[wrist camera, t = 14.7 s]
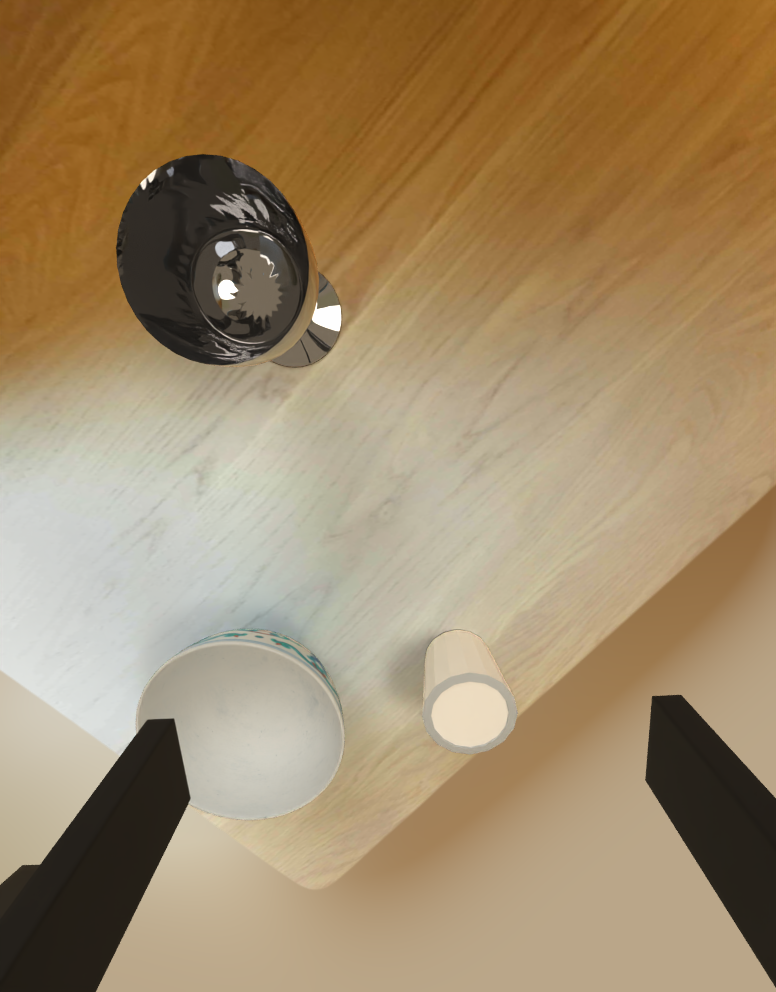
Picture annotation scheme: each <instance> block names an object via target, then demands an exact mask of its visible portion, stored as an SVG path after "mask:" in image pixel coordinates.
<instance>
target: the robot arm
mask: <svg viewBox="0 0 776 992" xmlns="http://www.w3.org/2000/svg"><path fill="white" fill-rule="evenodd" d="M645 780H646V782H647V784H648V785H649V787H650V788H651V790H652V792H653V793H654V795H655V796H656V798H657V799H658V801H659V803H660V804H661V806H662V807H663V809H664V810H665V812H666V814H667V815H668V817H669V819H670V820H671V822H672V823H673V825H674V826H675V828H676V830H677V831H678V833H679V834H680V836H681V838H682V839H683V841H684V842H685V844H686V846H687V847H688V849H689V850H690V852H691V854H692V855H693V857H694V858H695V860H696V862H697V863H698V864H699V866H700V868H701V869H702V871H703V872H704V874H705V876H706V877H707V879H708V880H709V882H710V884H711V885H712V887H713V889H714V890H715V892H716V893H717V895H718V896H719V898H720V900H721V901H722V903H723V904H724V906H725V908H726V909H727V911H728V912H729V914H730V915H731V917H732V919H733V920H734V922H735V923H736V925H737V927H738V928H739V930H740V931H741V933H742V934H743V936H744V938H745V939H746V941H747V942H748V944H749V946H750V947H751V949H752V950H753V952H754V954H755V955H756V957H757V959H758V960H759V962H760V963H761V965H762V966H763V968H764V969H765V971H766V973H767V974H768V976H769V978H770V979H771V981H772V982H773V984H774V986H775V987H776V798H775V797H774V796H773V795H772V794H771V793H770V792H769V791H768V790H767V788H766V787H765V786H764V785H763V784H762V783H761V782H760V781H759V780H758V779H757V778H756V776H755V775H754V774H753V773H752V772H751V771H750V770H749V769H748V768H747V766H746V765H745V764H744V763H743V762H742V761H741V760H740V759H739V758H738V757H737V755H736V754H735V753H734V752H733V751H732V750H731V749H730V748H729V747H728V746H727V745H726V743H725V742H724V741H723V740H722V739H721V738H720V737H719V736H718V735H717V734H716V733H715V731H714V730H713V729H712V728H711V727H710V726H709V725H708V724H707V723H706V722H705V721H704V719H702V717H701V716H700V715H699V714H698V713H697V712H696V711H695V710H694V709H693V707H692V706H691V705H690V704H689V703H688V702H687V701H686V700H685V699H684V698H683V696H682V695H668V696H652V706H651V719H650V730H649V742H648V755H647V768H646V779H645ZM190 799H191V797H190V792H189V787H188V782H187V778H186V773H185V768H184V763H183V758H182V753H181V749H180V744H179V739H178V734H177V729H176V724H175V719H174V718H169V719H148V720H147V721H146V722H145V723H144V725H143V726H142V727H141V729H140V730H139V731H138V733H137V734H136V736H135V737H134V738H133V740H132V741H131V742H130V744H129V745H128V746H127V748H126V749H125V750H124V752H123V753H122V755H121V756H120V757H119V759H118V760H117V761H116V763H115V764H114V765H113V767H112V768H111V770H110V771H109V772H108V774H107V775H106V776H105V778H104V779H103V780H102V782H101V783H100V785H99V786H98V787H97V788H96V790H95V791H94V792H93V794H92V795H91V797H90V798H89V799H88V801H87V802H86V803H85V805H84V806H83V807H82V809H81V810H80V812H79V813H78V814H77V816H76V817H75V818H74V820H73V821H72V822H71V824H70V825H69V827H68V828H67V829H66V830H65V832H64V833H63V835H62V836H61V837H60V839H59V840H58V841H57V843H56V844H55V845H54V847H53V848H52V850H51V851H50V852H49V854H48V855H47V856H46V858H45V859H44V860H43V862H42V863H41V864H40V865H22V866H21V867H20V868H19V869H18V870H17V871H15V872H14V873H13V874H12V875H11V876H10V877H9V878H8V879H6V880H5V881H4V882H3V883H2V884H1V885H0V992H96V990H97V988H98V986H99V984H100V982H101V980H102V978H103V976H104V974H105V972H106V970H107V968H108V966H109V964H110V962H111V960H112V958H113V956H114V954H115V952H116V949H117V948H118V945H119V944H120V941H121V939H122V937H123V935H124V933H125V931H126V929H127V927H128V925H129V923H130V921H131V919H132V917H133V915H134V913H135V911H136V909H137V907H138V905H139V903H140V901H141V899H142V897H143V895H144V893H145V891H146V889H147V887H148V885H149V883H150V881H151V878H152V876H153V874H154V872H155V870H156V868H157V866H158V864H159V862H160V860H161V858H162V856H163V854H164V852H165V850H166V848H167V846H168V844H169V842H170V840H171V838H172V836H173V834H174V832H175V829H176V828H177V826H178V824H179V822H180V820H181V818H182V816H183V814H184V811H185V810H186V807H187V805H188V803H189V801H190Z"/></svg>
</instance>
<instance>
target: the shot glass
mask: <svg viewBox="0 0 776 992" xmlns="http://www.w3.org/2000/svg"><path fill="white" fill-rule="evenodd" d="M517 714H518V712H517V707H516V703H515V698H514V696H513V694H512V692H511V690H510V688H509V686H508V684H507V682H506V681H505V679H504V677H503V675H502V673H501V671H500V669H499V667H498V666H497V664H496V662H495V660H494V658H493V656H492V654H491V652H490V651H489V649H488V647H487V645H486V644H485V643H484V642H483V640H482V639H481V638H480V637H479V636H477V635H475V634H473V633H471V632H469V631H462V630H453V631H449V632H444V633H443V634H441V635H440V636H438V637H436V638H435V639H433V641H432V642H431V644H430V645H429V647H428V648H427V651H426V657H425V667H424V688H423V709H422V718H423V721H424V725H425V728H426V732H427V733H428V734H429V735H430V736H431V737H432V739H433V740H434V741H435V742H436V743H437V744H438V745H440V746H442V747H444V748H446V749H448V750H450V751H452V752H456V753H464V754H475V753H480V752H485V751H489V750H490V749H492V748H494V747H495V746H497V745H499V744H500V743H502V742H504V740H505V739H506V738H507V737H508V735H509V734H510V733H511V731H512V730H513V729H514V726H515V722H516V718H517Z"/></svg>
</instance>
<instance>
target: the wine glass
mask: <svg viewBox="0 0 776 992" xmlns="http://www.w3.org/2000/svg"><path fill="white" fill-rule="evenodd" d="M116 250H117V267H118V271H119V276H120V281H121V285H122V288H123V290H124V293H125V295H126V298H127V301H128V303H129V304H130V306H131V308H132V310H133V312H134V313H135V315H136V317H137V318H138V319H139V321H140V322H141V323H142V325H143V326H144V327H145V328H146V330H147V331H148V332H149V333H150V334H151V335H152V336H153V337H154V338H155V339H157V340H158V341H159V342H160V343H161V344H162V345H164V346H165V347H167V348H168V349H170V350H171V351H173V352H174V353H176V354H178V355H180V356H183V357H185V358H187V359H189V360H192V361H196V362H200V363H203V364H207V365H214V366H225V367H243V366H254V365H258V364H262V363H265V362H268V361H273V362H275V363H277V364H279V365H283V366H287V367H303V366H307V365H310V364H313V363H315V362H317V361H319V360H320V359H321V358H323V357H324V356H325V355H326V354H327V353H328V352H329V351H330V350H331V349H332V347H333V346H334V344H335V342H336V340H337V338H338V335H339V332H340V328H341V319H342V314H341V306H340V303H339V299H338V296H337V294H336V292H335V290H334V288H333V287H332V285H331V284H330V282H329V281H328V280H327V279H326V278H325V277H324V276H323V275H322V274H321V273H319V272H318V268H317V261H316V258H315V254H314V250H313V247H312V244H311V242H310V240H309V237H308V235H307V233H306V231H305V229H304V227H303V225H302V222H301V220H300V219H299V217H298V216H297V214H296V212H295V211H294V209H293V208H292V206H291V205H290V203H289V202H288V201H287V199H286V198H285V196H284V195H283V194H282V193H281V192H280V191H279V190H278V189H277V188H276V187H275V185H274V184H273V183H272V182H271V181H270V180H268V179H267V178H266V177H264V176H263V175H262V174H260V173H259V172H258V171H256V170H255V169H253V168H251V167H249V166H247V165H245V164H243V163H241V162H239V161H237V160H234V159H230V158H227V157H223V156H217V155H206V154H201V155H193V156H185V157H182V158H179V159H176V160H173V161H170V162H168V163H166V164H165V165H163V166H161V167H160V168H158V169H156V170H154V171H153V172H152V173H151V174H150V175H149V176H148V177H147V178H146V179H144V180H143V181H142V182H141V183H140V185H139V186H138V187H137V189H136V190H135V192H134V193H133V194H132V196H131V197H130V199H129V201H128V203H127V205H126V207H125V210H124V212H123V215H122V218H121V222H120V225H119V229H118V237H117V246H116Z"/></svg>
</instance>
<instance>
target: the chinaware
mask: <svg viewBox="0 0 776 992" xmlns="http://www.w3.org/2000/svg"><path fill="white" fill-rule="evenodd" d="M169 718H174V719H175V724H176V729H177V734H178V739H179V744H180V749H181V753H182V758H183V763H184V768H185V773H186V778H187V782H188V787H189V792H190V797H191V799H190V801H189V803H188V804H189V805H191V806H192V807H194V808H197V809H199V810H201V811H204V812H206V813H209V814H212V815H215V816H219V817H224V818H229V819H236V820H263V819H270V818H275V817H279V816H282V815H286V814H288V813H291V812H293V811H296V810H298V809H300V808H302V807H304V806H305V805H307V804H308V803H310V802H311V801H313V800H314V799H315V798H316V797H318V796H319V795H320V794H321V793H322V792H323V791H324V790H325V789H326V788H327V786H328V785H329V784H330V782H331V781H332V779H333V778H334V776H335V774H336V773H337V770H338V768H339V766H340V763H341V760H342V756H343V752H344V744H345V730H344V720H343V713H342V708H341V704H340V700H339V697H338V694H337V691H336V688H335V686H334V684H333V682H332V680H331V678H330V676H329V674H328V672H327V671H326V669H325V668H324V666H323V665H322V664H321V662H320V661H319V660H318V659H317V658H316V657H315V656H314V655H313V654H312V653H311V652H310V651H309V650H308V649H307V648H305V647H304V646H303V645H301V644H300V643H298V642H297V641H295V640H293V639H291V638H289V637H287V636H285V635H282V634H279V633H276V632H272V631H268V630H261V629H237V630H231V631H226V632H222V633H218V634H215V635H212V636H210V637H207V638H205V639H202V640H200V641H198V642H196V643H194V644H192V645H191V646H189V647H187V648H186V649H184V650H182V651H181V652H179V653H178V654H176V655H175V656H174V657H172V658H171V659H170V660H168V661H167V662H166V663H165V664H164V665H163V666H161V667H160V668H159V669H158V670H157V672H156V673H155V674H154V675H153V676H152V677H151V679H150V680H149V682H148V683H147V685H146V686H145V688H144V690H143V692H142V695H141V697H140V700H139V703H138V707H137V712H136V734H137V733H138V731H139V730H140V729H141V727H142V726H143V725H144V723H145V722H146V721H147V720H148V719H169Z"/></svg>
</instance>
